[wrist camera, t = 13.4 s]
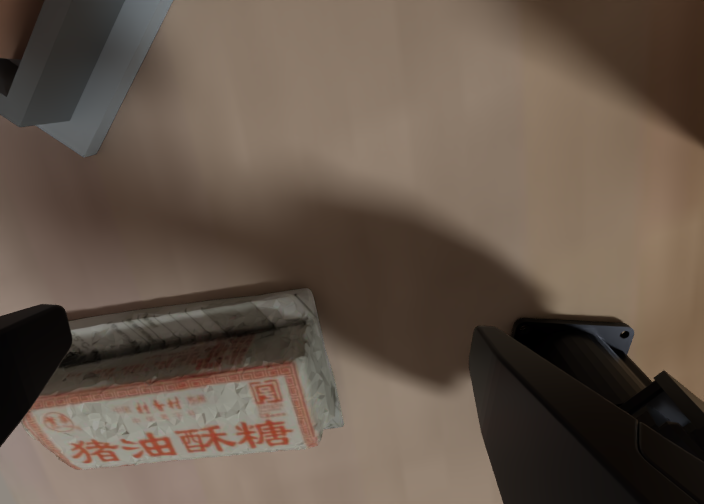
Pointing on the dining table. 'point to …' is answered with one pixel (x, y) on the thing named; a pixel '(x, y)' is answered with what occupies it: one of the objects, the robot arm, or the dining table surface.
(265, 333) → the packaged product
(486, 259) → the dining table surface
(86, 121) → the box
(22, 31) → the terracotta block
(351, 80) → the dining table surface
